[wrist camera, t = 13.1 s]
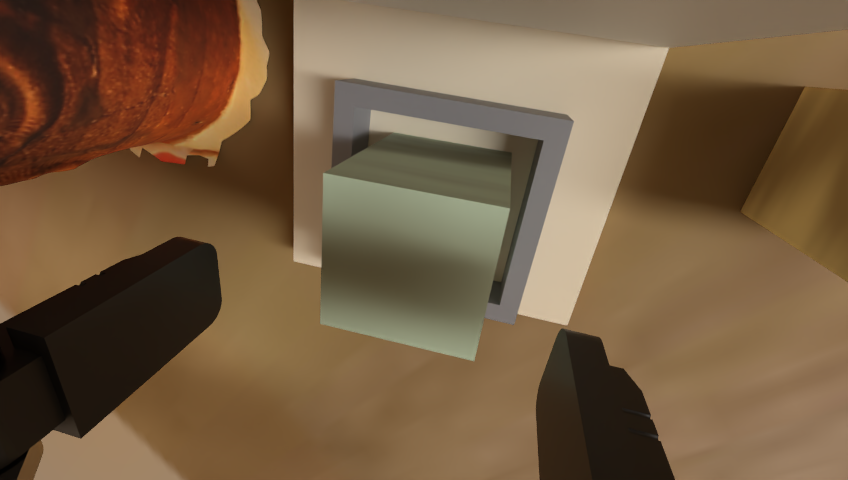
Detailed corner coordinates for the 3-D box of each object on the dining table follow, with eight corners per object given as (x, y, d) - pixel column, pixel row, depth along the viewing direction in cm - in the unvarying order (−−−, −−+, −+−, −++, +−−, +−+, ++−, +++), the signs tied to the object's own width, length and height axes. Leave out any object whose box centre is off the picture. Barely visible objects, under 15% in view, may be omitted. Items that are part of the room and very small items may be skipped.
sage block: (394, 132, 17) (323, 173, 11) (511, 152, 16) (510, 208, 10) (384, 238, 19) (320, 323, 13) (487, 259, 18) (474, 361, 12)
